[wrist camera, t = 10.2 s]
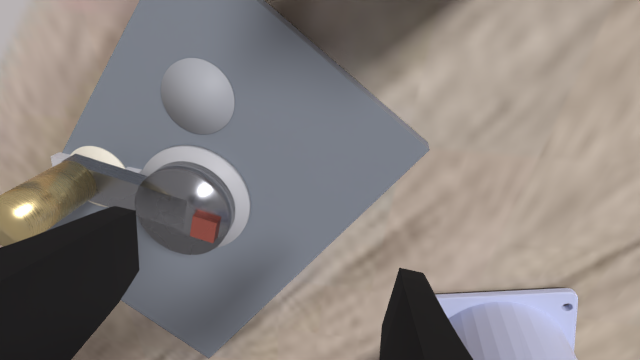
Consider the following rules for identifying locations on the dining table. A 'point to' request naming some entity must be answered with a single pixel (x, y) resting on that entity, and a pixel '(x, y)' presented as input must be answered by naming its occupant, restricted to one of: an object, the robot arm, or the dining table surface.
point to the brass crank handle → (125, 201)
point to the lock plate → (238, 152)
